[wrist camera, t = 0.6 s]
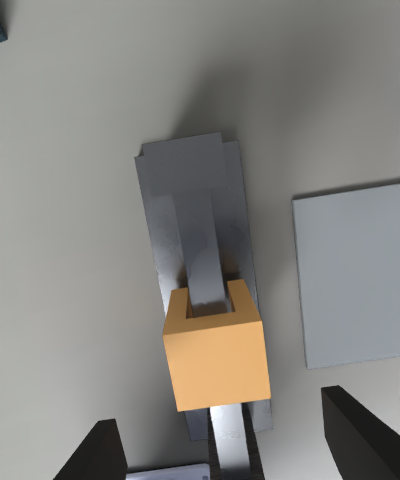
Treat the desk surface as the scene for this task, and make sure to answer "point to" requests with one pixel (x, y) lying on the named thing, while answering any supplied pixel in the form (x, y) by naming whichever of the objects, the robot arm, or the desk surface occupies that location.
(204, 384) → the clip
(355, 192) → the mat
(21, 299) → the desk surface
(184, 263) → the rail stand
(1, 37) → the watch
